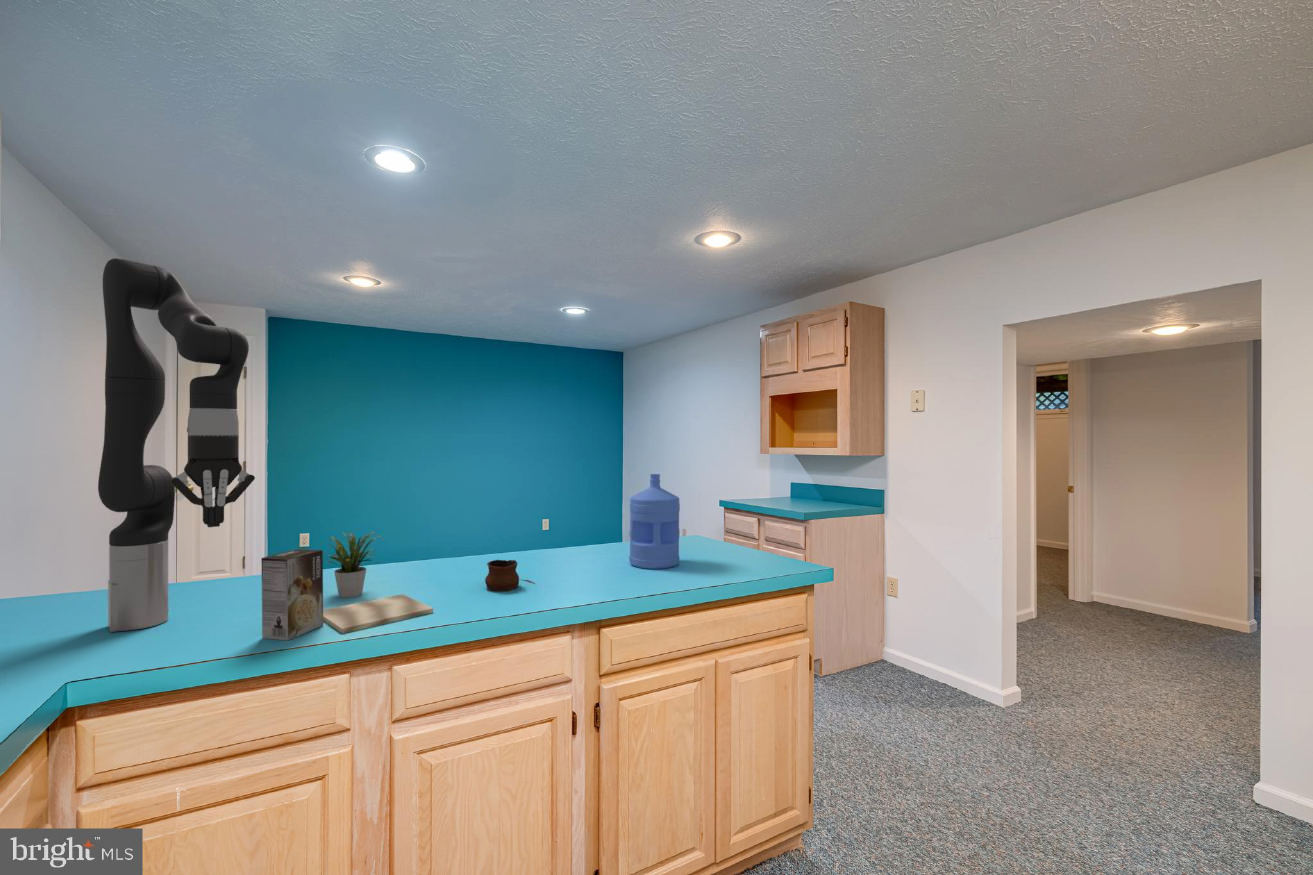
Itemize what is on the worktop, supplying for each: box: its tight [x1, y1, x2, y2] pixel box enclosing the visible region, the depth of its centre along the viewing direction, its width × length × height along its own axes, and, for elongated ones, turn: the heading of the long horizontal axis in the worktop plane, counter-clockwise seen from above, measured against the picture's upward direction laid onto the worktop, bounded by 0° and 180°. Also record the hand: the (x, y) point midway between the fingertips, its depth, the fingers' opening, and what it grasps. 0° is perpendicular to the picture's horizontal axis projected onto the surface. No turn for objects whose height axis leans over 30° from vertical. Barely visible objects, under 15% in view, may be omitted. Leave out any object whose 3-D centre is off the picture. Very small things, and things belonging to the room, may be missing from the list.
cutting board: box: [323, 593, 434, 634], centre depth 128 cm, size 19×16×1 cm
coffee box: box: [261, 548, 324, 642], centre depth 117 cm, size 9×6×16 cm
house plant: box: [321, 530, 382, 599], centre depth 144 cm, size 14×14×16 cm
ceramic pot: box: [484, 559, 536, 593], centre depth 151 cm, size 18×18×7 cm
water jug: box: [628, 473, 681, 570], centre depth 180 cm, size 16×16×28 cm
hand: (213, 526), depth 107 cm, fingers closed
